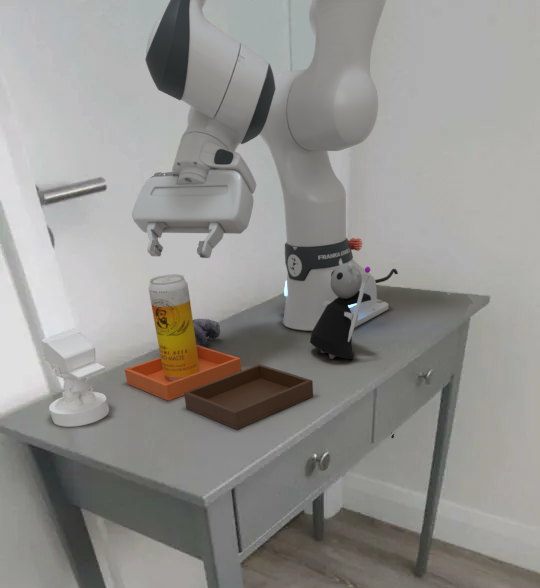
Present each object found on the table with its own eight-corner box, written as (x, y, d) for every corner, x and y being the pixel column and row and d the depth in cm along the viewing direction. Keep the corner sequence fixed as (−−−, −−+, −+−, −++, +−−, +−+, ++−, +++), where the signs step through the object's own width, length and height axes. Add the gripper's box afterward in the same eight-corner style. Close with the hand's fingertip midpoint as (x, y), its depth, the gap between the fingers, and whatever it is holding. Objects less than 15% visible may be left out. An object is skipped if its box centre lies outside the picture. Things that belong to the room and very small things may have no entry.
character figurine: (86, 400, 104) (66, 322, 97) (124, 411, 99) (106, 330, 91) (41, 419, 99) (16, 339, 91) (79, 432, 94) (56, 348, 86)
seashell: (216, 344, 125) (180, 361, 120) (200, 320, 125) (163, 336, 119) (229, 329, 121) (193, 347, 116) (213, 304, 120) (176, 320, 115)
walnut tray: (260, 379, 105) (259, 363, 104) (313, 396, 98) (312, 380, 96) (186, 408, 98) (183, 392, 96) (236, 429, 91) (234, 412, 89)
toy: (298, 344, 114) (319, 251, 107) (331, 349, 117) (354, 259, 110) (326, 363, 106) (352, 263, 98) (361, 368, 109) (389, 271, 101)
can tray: (199, 358, 116) (197, 344, 114) (242, 373, 108) (240, 358, 107) (127, 383, 108) (124, 369, 107) (168, 401, 101) (165, 385, 99)
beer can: (157, 380, 107) (139, 283, 98) (175, 368, 111) (159, 273, 102) (190, 383, 105) (174, 283, 96) (206, 370, 109) (193, 273, 100)
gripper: (137, 159, 102) (113, 241, 102) (249, 153, 94) (223, 243, 94) (159, 187, 108) (136, 265, 108) (265, 184, 100) (241, 269, 100)
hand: (177, 255), depth 101 cm, fingers open, 8 cm apart
